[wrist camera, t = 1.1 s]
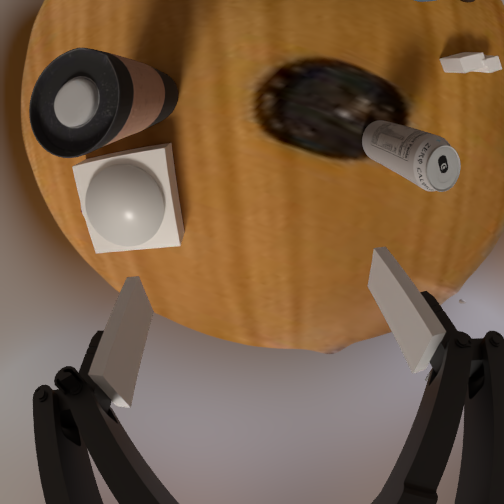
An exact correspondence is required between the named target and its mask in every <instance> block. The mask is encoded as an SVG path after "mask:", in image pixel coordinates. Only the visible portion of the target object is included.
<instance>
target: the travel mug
mask: <svg viewBox="0 0 504 504" xmlns="http://www.w3.org/2000/svg"><path fill="white" fill-rule="evenodd" d="M177 101H178V89H177V86H176V84H175V82H174V81H173V79H172V78H171V77H170V76H168V75H167V74H165V73H163V72H161V71H159V70H157V69H155V68H153V67H151V66H149V65H147V64H144V63H141V62H138V61H135V60H131V59H128V58H125V57H121V56H118V55H114V54H110V53H106V52H102V51H98V50H94V49H88V48H76V49H73V50H70V51H68V52H66V53H64V54H62V55H60V56H59V57H57V58H56V59H55V60H53V61H52V62H51V63H50V64H49V65H48V66H47V67H46V68H45V69H44V71H43V72H42V74H41V75H40V76H39V78H38V80H37V82H36V84H35V87H34V89H33V92H32V95H31V100H30V109H29V113H30V123H31V127H32V130H33V133H34V135H35V137H36V139H37V141H38V142H39V144H40V145H41V146H42V147H43V148H44V149H45V150H47V151H48V152H49V153H51V154H53V155H56V156H58V157H63V158H73V157H79V156H82V155H85V154H87V153H90V152H92V151H94V150H96V149H98V148H101V147H103V146H105V145H108V144H110V143H112V142H115V141H117V140H120V139H122V138H125V137H127V136H130V135H132V134H135V133H138V132H140V131H142V130H144V129H146V128H148V127H150V126H152V125H154V124H156V123H159V122H160V121H162V120H164V119H165V118H167V117H168V116H169V115H170V114H171V113H172V112H173V110H174V108H175V106H176V104H177Z"/></svg>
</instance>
